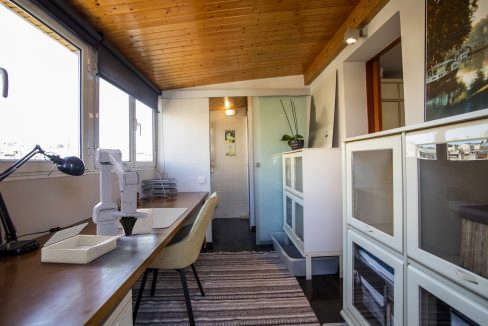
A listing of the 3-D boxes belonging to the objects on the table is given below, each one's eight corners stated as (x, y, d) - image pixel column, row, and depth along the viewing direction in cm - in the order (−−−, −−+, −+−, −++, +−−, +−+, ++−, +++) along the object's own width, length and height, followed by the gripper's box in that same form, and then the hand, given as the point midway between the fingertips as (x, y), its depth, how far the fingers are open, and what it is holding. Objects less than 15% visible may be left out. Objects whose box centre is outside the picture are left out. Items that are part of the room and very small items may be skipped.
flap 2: (130, 231, 107) (131, 232, 107) (115, 235, 107) (116, 236, 107) (106, 243, 90) (106, 244, 90) (88, 248, 91) (88, 249, 91)
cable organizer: (120, 235, 126) (120, 213, 126) (124, 230, 137) (124, 209, 137) (151, 233, 130) (151, 211, 130) (153, 228, 140) (153, 208, 141)
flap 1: (56, 233, 92) (55, 232, 92) (44, 246, 93) (43, 245, 93) (88, 223, 109) (87, 222, 109) (77, 234, 109) (77, 233, 109)
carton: (78, 246, 110) (78, 234, 110) (116, 247, 108) (116, 236, 108) (41, 261, 92) (41, 248, 92) (86, 263, 90) (86, 250, 90)
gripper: (105, 202, 95) (104, 238, 95) (140, 203, 94) (140, 239, 93) (116, 200, 102) (116, 232, 102) (149, 200, 101) (149, 234, 101)
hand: (128, 235), depth 98 cm, fingers closed
